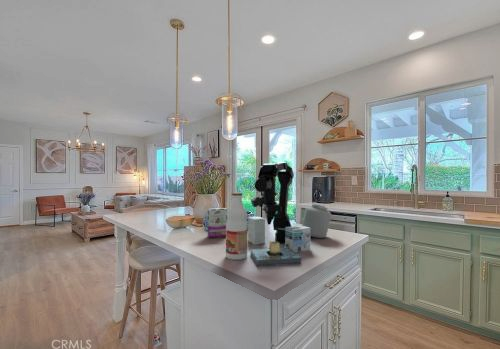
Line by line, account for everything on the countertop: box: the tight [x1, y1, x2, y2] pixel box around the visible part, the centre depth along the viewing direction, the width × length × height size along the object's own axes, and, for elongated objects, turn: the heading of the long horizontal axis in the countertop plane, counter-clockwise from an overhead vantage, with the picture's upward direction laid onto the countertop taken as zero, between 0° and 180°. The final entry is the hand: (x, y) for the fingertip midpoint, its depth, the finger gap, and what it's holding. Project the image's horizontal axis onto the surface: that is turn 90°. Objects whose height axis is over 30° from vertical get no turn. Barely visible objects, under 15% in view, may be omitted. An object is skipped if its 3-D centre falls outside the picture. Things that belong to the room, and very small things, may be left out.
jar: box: [301, 194, 332, 239], centre depth 139 cm, size 19×15×25 cm
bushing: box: [268, 240, 281, 256], centre depth 101 cm, size 4×4×7 cm
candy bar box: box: [207, 207, 228, 239], centre depth 138 cm, size 11×5×16 cm, turn 104°
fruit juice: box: [225, 191, 248, 261], centre depth 104 cm, size 9×9×28 cm
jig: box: [250, 246, 302, 268], centre depth 101 cm, size 18×14×2 cm
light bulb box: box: [284, 224, 311, 253], centre depth 115 cm, size 11×7×11 cm, turn 117°
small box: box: [247, 216, 266, 245], centre depth 127 cm, size 8×6×13 cm
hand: (269, 224), depth 110 cm, fingers closed
